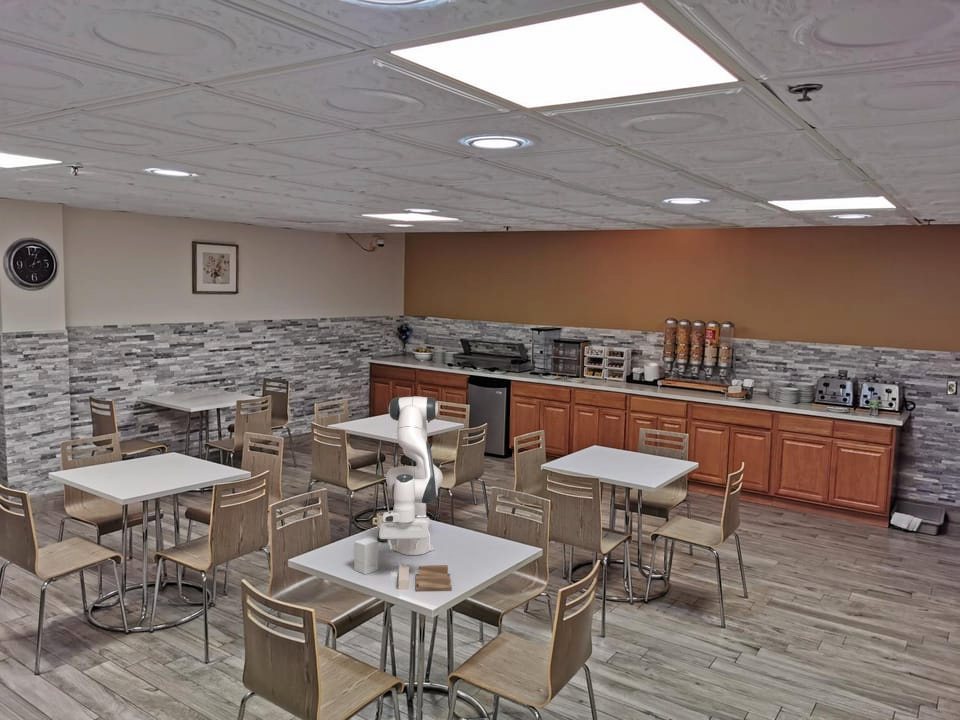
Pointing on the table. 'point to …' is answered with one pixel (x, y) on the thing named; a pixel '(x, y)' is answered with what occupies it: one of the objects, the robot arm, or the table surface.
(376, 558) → the supplement box
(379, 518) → the character mug
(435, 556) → the table surface
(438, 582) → the ridged wooden base
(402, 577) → the beige rectangular bar
